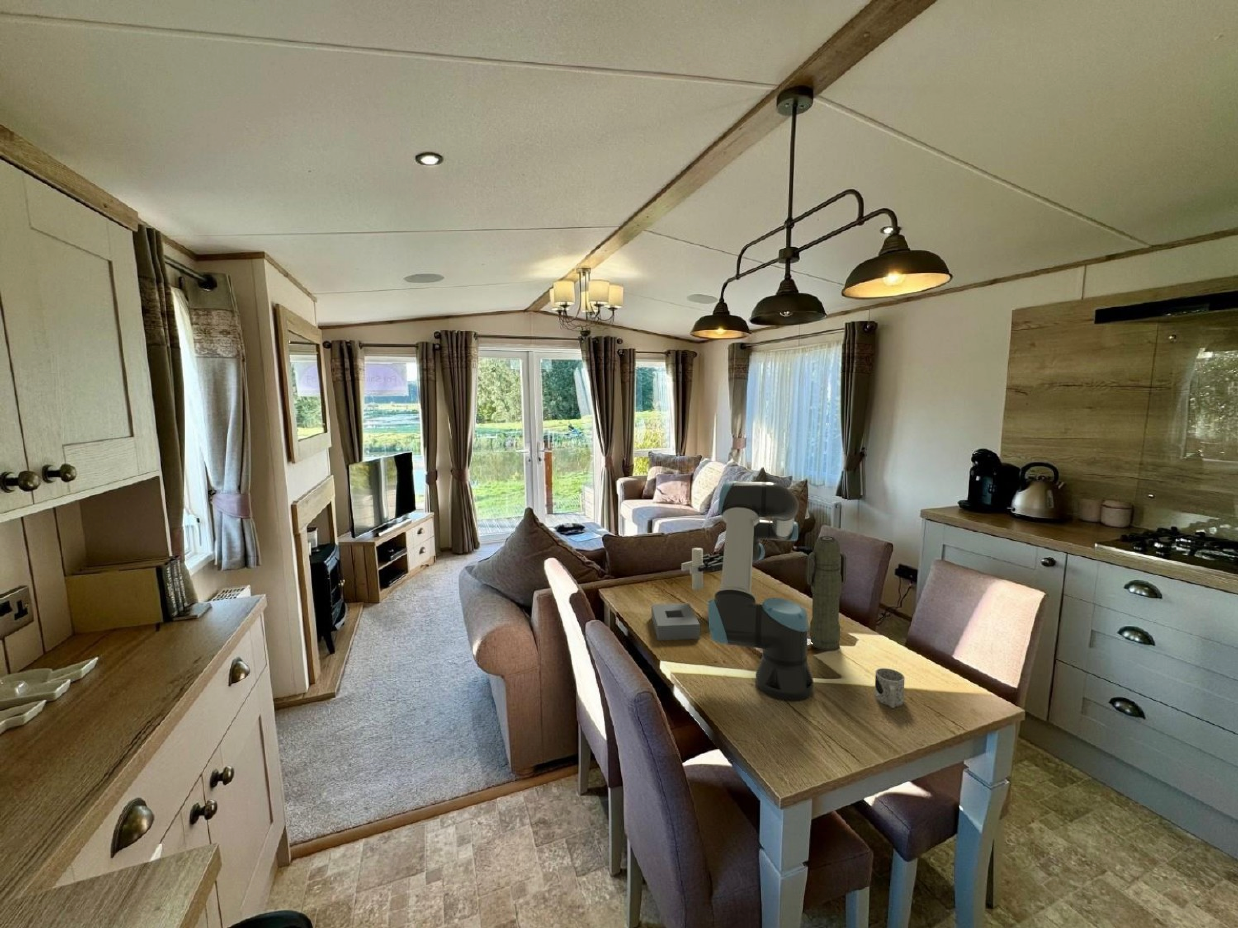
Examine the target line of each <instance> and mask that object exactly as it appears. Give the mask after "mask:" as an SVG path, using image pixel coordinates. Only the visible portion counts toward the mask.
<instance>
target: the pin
mask: <svg viewBox="0 0 1238 928" xmlns="http://www.w3.org/2000/svg"><path fill="white" fill-rule="evenodd" d="M703 555H704V549H703V548H702V547H694V548H692V549H691V561H692V566H695V565H699V564H703ZM703 587H704V571H703V572H699V573H695V574H691V588H692V590H693V591H701V590H704V588H703Z"/></svg>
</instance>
